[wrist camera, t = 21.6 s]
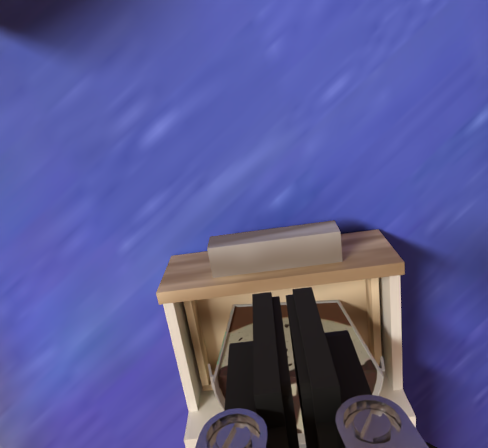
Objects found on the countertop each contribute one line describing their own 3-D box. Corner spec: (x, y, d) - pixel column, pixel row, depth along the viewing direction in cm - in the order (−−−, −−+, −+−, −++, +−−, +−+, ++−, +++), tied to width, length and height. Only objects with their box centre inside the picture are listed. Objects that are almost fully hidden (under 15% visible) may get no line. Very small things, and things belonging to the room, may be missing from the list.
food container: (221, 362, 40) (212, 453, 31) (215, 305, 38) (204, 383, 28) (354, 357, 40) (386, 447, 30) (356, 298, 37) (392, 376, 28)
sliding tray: (165, 230, 38) (148, 263, 31) (377, 202, 36) (403, 230, 30) (195, 363, 42) (186, 415, 36) (382, 342, 41) (406, 391, 35)
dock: (175, 268, 39) (153, 328, 30) (377, 242, 38) (417, 297, 29) (215, 449, 47) (206, 540, 38) (385, 431, 46) (419, 521, 37)
